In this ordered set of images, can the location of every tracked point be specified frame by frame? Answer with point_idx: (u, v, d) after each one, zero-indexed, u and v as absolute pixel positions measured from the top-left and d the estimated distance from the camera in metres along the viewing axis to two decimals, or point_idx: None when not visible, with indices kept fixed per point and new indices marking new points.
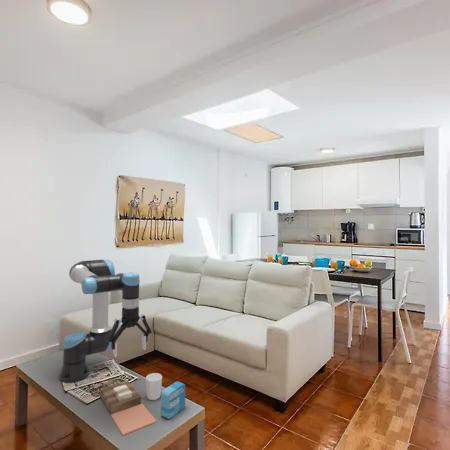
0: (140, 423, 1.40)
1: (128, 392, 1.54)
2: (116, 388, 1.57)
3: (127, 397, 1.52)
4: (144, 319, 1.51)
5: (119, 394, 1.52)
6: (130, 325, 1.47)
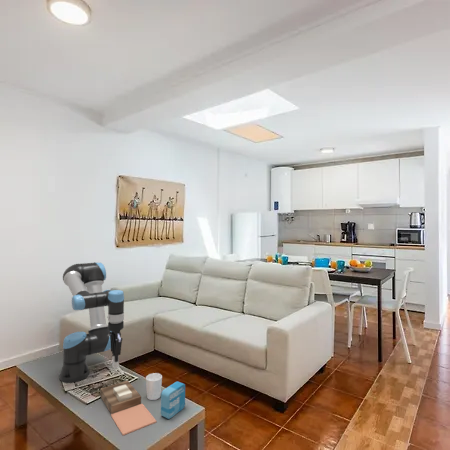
0: (140, 423, 1.40)
1: (128, 392, 1.54)
2: (116, 388, 1.57)
3: (127, 397, 1.52)
4: (116, 341, 1.59)
5: (119, 394, 1.52)
6: None
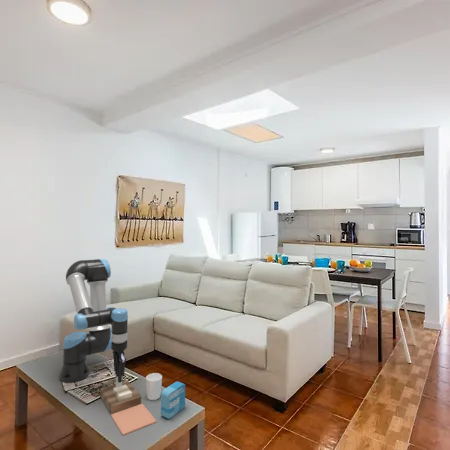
0: (140, 423, 1.40)
1: (128, 392, 1.54)
2: (116, 388, 1.57)
3: (127, 397, 1.52)
4: (120, 362, 1.54)
5: (119, 394, 1.52)
6: None
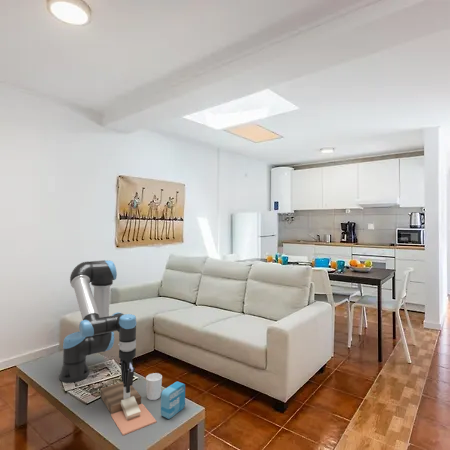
0: (140, 423, 1.40)
1: (137, 410, 1.45)
2: (124, 401, 1.48)
3: (135, 415, 1.44)
4: (128, 371, 1.46)
5: (127, 411, 1.43)
6: None
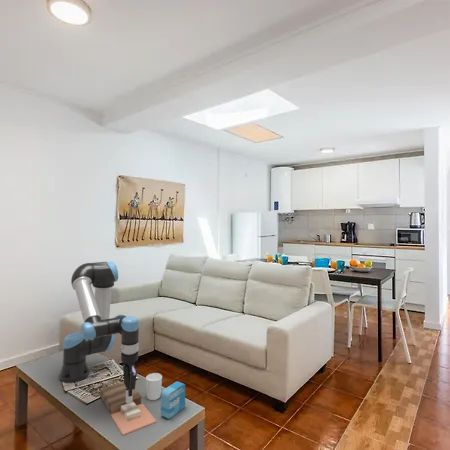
0: (140, 423, 1.40)
1: (137, 411, 1.45)
2: (124, 406, 1.48)
3: (136, 416, 1.44)
4: (131, 375, 1.43)
5: (127, 413, 1.43)
6: (127, 369, 1.47)
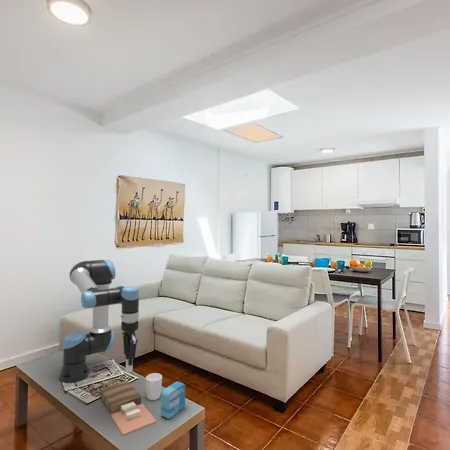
0: (140, 423, 1.40)
1: (137, 411, 1.45)
2: (124, 406, 1.48)
3: (136, 416, 1.44)
4: (131, 343, 1.43)
5: (127, 413, 1.43)
6: (127, 338, 1.47)
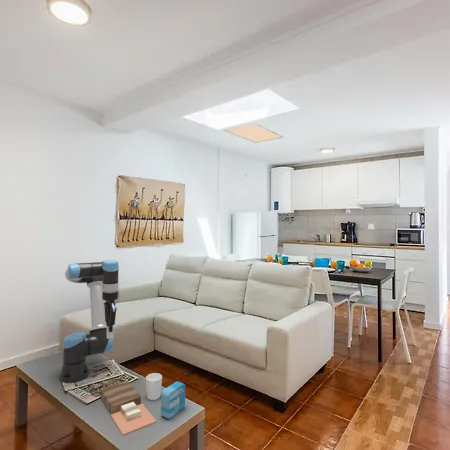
0: (140, 423, 1.40)
1: (137, 411, 1.45)
2: (124, 406, 1.48)
3: (136, 416, 1.44)
4: (110, 311, 1.56)
5: (127, 413, 1.43)
6: None
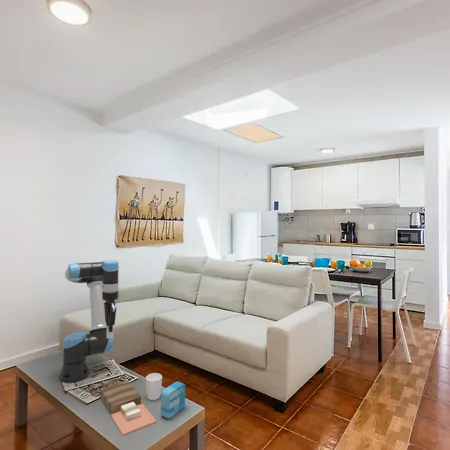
0: (140, 423, 1.40)
1: (137, 411, 1.45)
2: (124, 406, 1.48)
3: (136, 416, 1.44)
4: (110, 311, 1.56)
5: (127, 413, 1.43)
6: None
